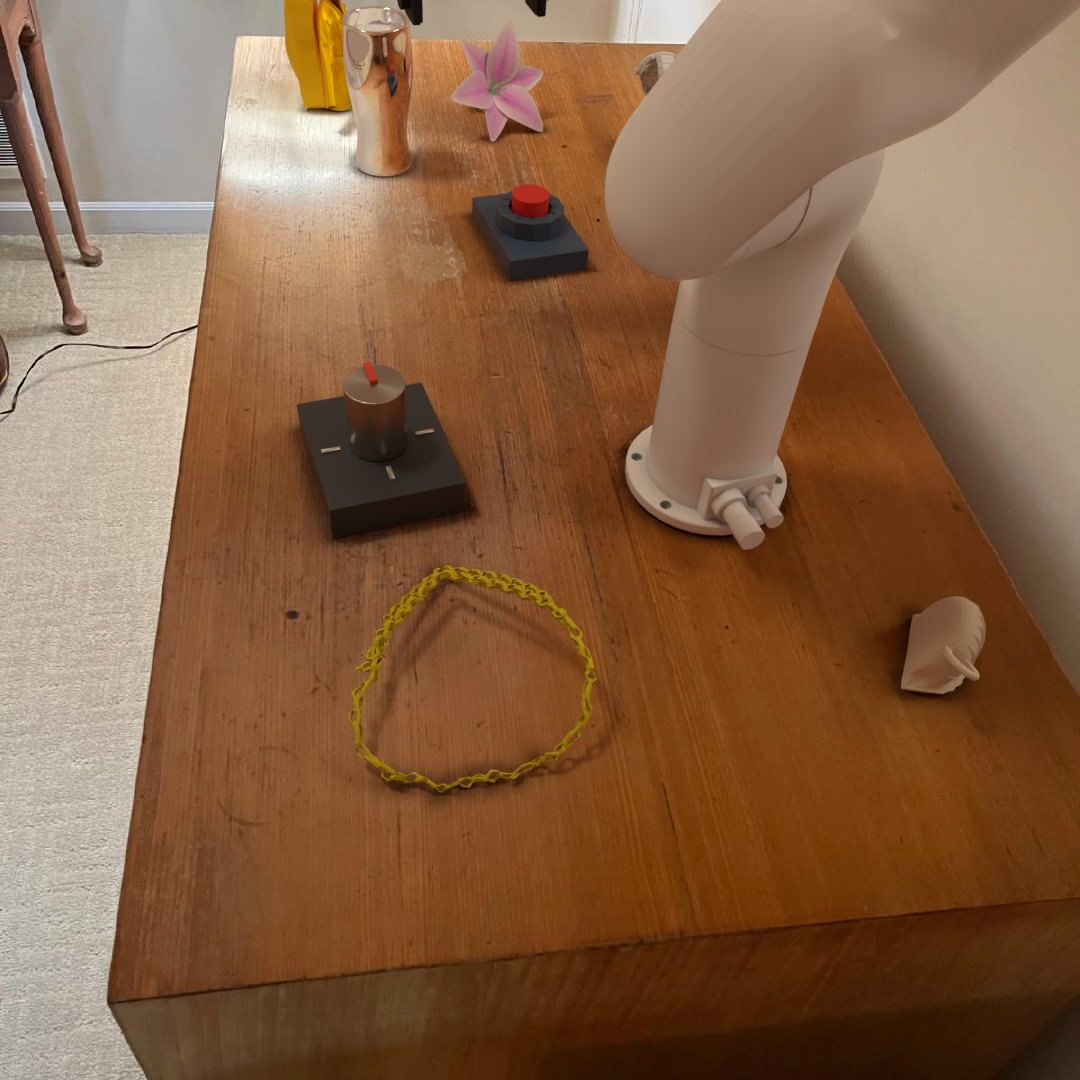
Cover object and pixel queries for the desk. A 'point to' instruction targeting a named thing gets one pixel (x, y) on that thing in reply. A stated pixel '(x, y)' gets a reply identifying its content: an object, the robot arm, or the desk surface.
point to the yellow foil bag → (317, 51)
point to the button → (530, 201)
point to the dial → (376, 412)
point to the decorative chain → (411, 602)
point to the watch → (653, 68)
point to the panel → (381, 469)
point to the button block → (529, 238)
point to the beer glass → (379, 86)
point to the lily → (500, 83)
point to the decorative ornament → (944, 646)
